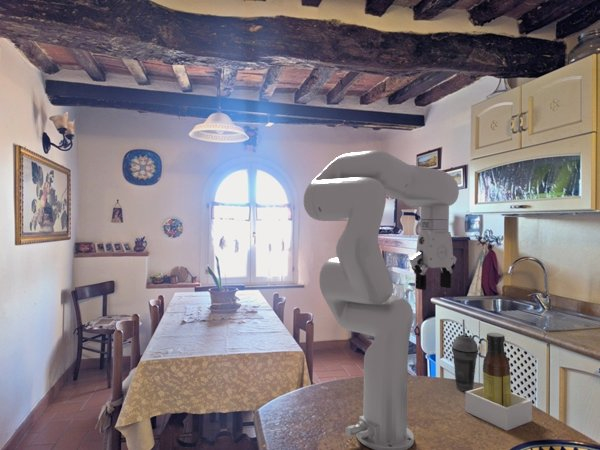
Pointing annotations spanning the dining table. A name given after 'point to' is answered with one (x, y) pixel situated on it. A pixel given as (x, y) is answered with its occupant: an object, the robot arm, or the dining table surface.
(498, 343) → the sauce bottle
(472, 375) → the beverage cup
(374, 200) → the robot arm
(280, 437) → the dining table surface
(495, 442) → the dining table surface
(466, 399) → the box
